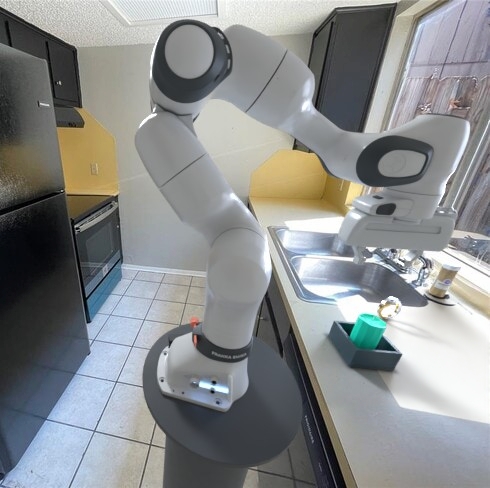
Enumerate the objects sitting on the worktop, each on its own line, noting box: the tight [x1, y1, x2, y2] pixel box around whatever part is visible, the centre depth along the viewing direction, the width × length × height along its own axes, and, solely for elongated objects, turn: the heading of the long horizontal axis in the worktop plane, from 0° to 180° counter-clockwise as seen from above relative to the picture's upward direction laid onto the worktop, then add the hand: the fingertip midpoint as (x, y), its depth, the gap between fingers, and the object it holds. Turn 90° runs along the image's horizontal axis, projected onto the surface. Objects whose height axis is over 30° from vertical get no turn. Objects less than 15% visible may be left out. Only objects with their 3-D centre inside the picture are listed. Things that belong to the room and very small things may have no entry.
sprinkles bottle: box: [428, 261, 462, 298], centre depth 98 cm, size 5×5×14 cm
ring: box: [376, 296, 403, 320], centre depth 84 cm, size 7×3×8 cm, turn 88°
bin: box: [327, 320, 403, 372], centre depth 71 cm, size 11×11×6 cm
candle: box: [350, 312, 387, 350], centre depth 69 cm, size 6×6×12 cm
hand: (380, 264), depth 57 cm, fingers open, 8 cm apart
